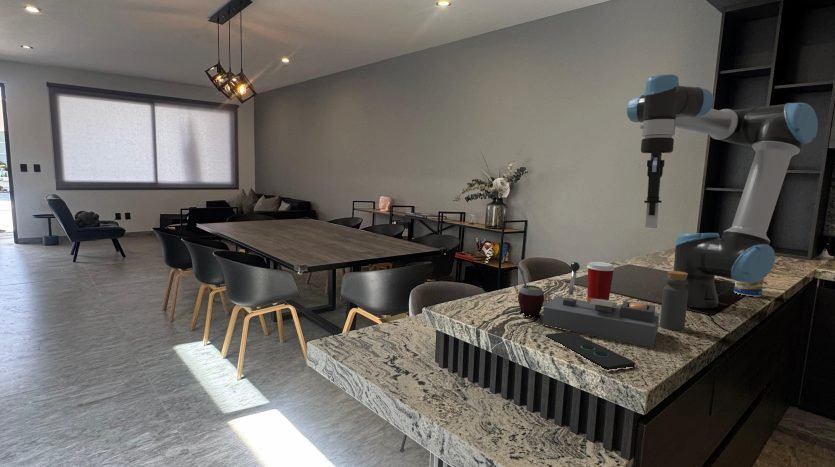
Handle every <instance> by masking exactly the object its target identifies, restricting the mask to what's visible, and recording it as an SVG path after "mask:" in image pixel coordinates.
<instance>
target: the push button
mask: <svg viewBox="0 0 835 467" xmlns="http://www.w3.org/2000/svg"><path fill="white" fill-rule="evenodd" d="M647 305H648V304H647ZM647 305H645V303H641V302H634V303H630V304H629V307H631V308H637V309H643V310H647Z"/></svg>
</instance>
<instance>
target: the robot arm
mask: <svg viewBox="0 0 835 467" xmlns="http://www.w3.org/2000/svg"><path fill="white" fill-rule="evenodd" d="M679 79H680V78H679V77H678V75H676V74H658V75H653V76H651V77H649V78H647V79H646V82H645V89H644V92H643V94H642V95H639V96H636V97H633V98H631V99H630V100H629V102H628V103H627V106H626V116H627V118H628V119H629V120H630V121H631V122H634V123H642V124H641V125H640V126H639V129H641V130H642V132H641V134H642V135H641V136H642V137H643V138H642V139H641V144H640V153H642V154H650V159H648V160H647V161H646V166H647V171H646V172H647V174H646V175H647V177H648V183H647V196H646V200H644V202H643V203H645V204H646V211H645V212H646V213H645V223H644V224H645V225H644V226H645V228H648V229H649V228H650V229H657V228H658V217H659V216H658V215H659V207H660V206H659V204H662V200H660V189H661V188H660V187H661V177H663V173H664V167H665V159H662V156H663V155H662V154H671V153H672V152H673V151H674V146H675V145H674V141H675V139H674V138H673V136H675V133H676V128H678V129H681V130H687V131H692V132H696V133H701V134H705V135H709V137H710V138H712V139H714V140H718V141H722V142H726V143H730V144H731V143H732V144H736V145H740V146H751V148H752V149H753V150H754V152H755V154H754V158H753V161H752V164H751V166H750V169H749V173H748V175H747V178H746V182H745V185H744V187H743V191H742V194H741V197H740V200H739V203H738V206H737V210H736V211H735V212H736V213H735V216H734V218H733V222H732V224H731V227H729V228H727V229H726V230H723V234H722V236H720V234H719V233H718V232H704V233H703V232H701V233H700V232H697V233H696V232H694V233H693V232H691V233H689V232H688V233H687V232H686V233H685V232H684V233H683V232H682V233H680V234H679V235H678V236H677V237H676V243H675V245H674V246H675V250H674V259H673V260H674V262H673V271H680V272H685V273H688V275H687V278H686V280H688V284H686V285H685V288H686V289H687V290H688V300H687V307H690V308H697V309H700V308H701V309H715V308H714V307H716V308H717V307H718V305H719V297H718V293H717V289H716V284H715V277H720V278H725V279H729V280H734V281H735V280H736V281H739V282H742V281H743V282H749V283H754V282H758V281H760V280H761V279H763V278H764V279H765V278H766V277H768V275H769V274H770V272H772V270H773V267H774V265H775V260H776V257H775V254H776V253H775V249H774V248H773V247H772V246H770V243H771V240H770V238H769V237H768V236H767V232H768V230H769V226H770V223H771V220H772V218H773V217H772V216H773V213H774V211H775V208H776V205H777V201H778V198H779V196H780V192H781V190H782V187H783V183H784V180H785V177H786V175H787V171H788V168H789V166H790V162H791V159H792V157H793V156H796V155H798V154H799V153H801V152H800V151H801V149H802V146H803V145H807V144H809V143H811V142H812V141H813V140H814V139H815V138H816V136H817V133H818V130H819V128H818V125H819V123H818V122H819V121H818V116H817V114H816V112H815V109H813V107H812V106H811V105H810V104H809V103H805V102H788V103H787V102H786V103H784V104H777V105H767V106H760V107H759V106H758V107H751V108H743V109H731V108H723V109H719V110H718V109H714V108H713V105H714V96H713V93H712V92H711V91H710V90H709V89H708V88H704V87H700V86H694V87H693V86H683V85H680V83H679Z"/></svg>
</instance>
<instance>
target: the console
mask: <svg viewBox="0 0 835 467" xmlns="http://www.w3.org/2000/svg"><path fill="white" fill-rule="evenodd" d="M630 303H635V302H633V301H626V300H624V301H623V302H622V304H621V305H620V306H618V305H617V306H616V307H608V306H602V305H596V304H590V302H588V301H587V300H583V299H582V300H581V299H576V298H572V297H571V298H570V297H564V296H556V297H555V298H553V299H552V300H551V301H550V302H548V303H547V304H546V305H545V306H544V305H543V311H542V324H544V325H548V326H552V327H557V328H561V329H566V330H570V331H569V332H571V331H575V332H574V333H577V332H579V333H578V334H582V333H583V335H587V336H594V337H597V338H601V339H607V340H612V341H616V342H617V341H618V342H622V343H628V344H634V345H637V346H644V347H648V348H652V349H653V348H654V346H655V341H656V340H657V339H656V338H657V334H658V330H659V329H658V328H659V322H660V312H656V305H651V304H648V303H647V304H645V303H644V304H645V305H647V310H643V309H637V308H631V307H629V304H630ZM561 329H560V330H561ZM566 330H565V331H566Z"/></svg>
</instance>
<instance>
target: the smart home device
mask: <svg viewBox="0 0 835 467" xmlns="http://www.w3.org/2000/svg"><path fill="white" fill-rule="evenodd" d="M545 336H546V337H548V338H550V339H552V340H554V341H556V342H558V343H560V344H562V345H563V346H565V347H567V348H569V349H571V350H572V351H574V352H576V353H578V354H580V355H581V356H583V357H584V358H586V359H588V360H590V361H591V362H593V363H595V364H597V365H599V366H601V367H602V368H604V369H607V370H609V369H617V368H626V367H635V366H636V362H635V361H634V360H631V359H630V358H628V357H625V356H624V355H622V354H619V353H617V352H615V351H613V350H611V349H608V348H607V347H604V346H603V345H600V344H598V343H597V342H594V341H592V340H590V339H588V338H586V337H584V336H581V335H579V334H578V333H576V332H571V331H565V332H555V333H554V332H553V333H546V334H545Z"/></svg>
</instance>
